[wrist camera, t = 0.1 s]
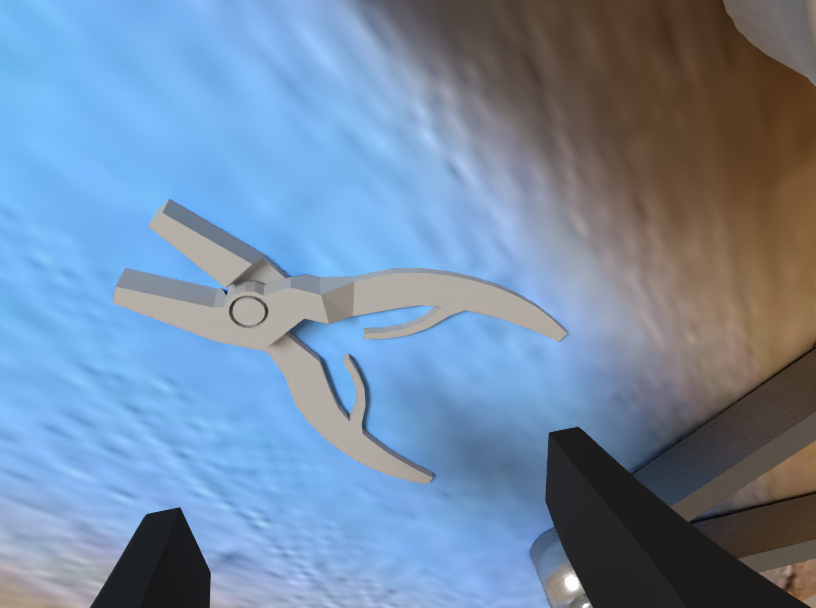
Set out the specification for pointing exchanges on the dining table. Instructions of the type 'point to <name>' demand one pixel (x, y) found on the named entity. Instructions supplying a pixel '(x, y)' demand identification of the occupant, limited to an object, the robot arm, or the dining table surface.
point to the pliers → (314, 300)
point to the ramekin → (779, 30)
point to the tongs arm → (738, 443)
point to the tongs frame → (736, 533)
